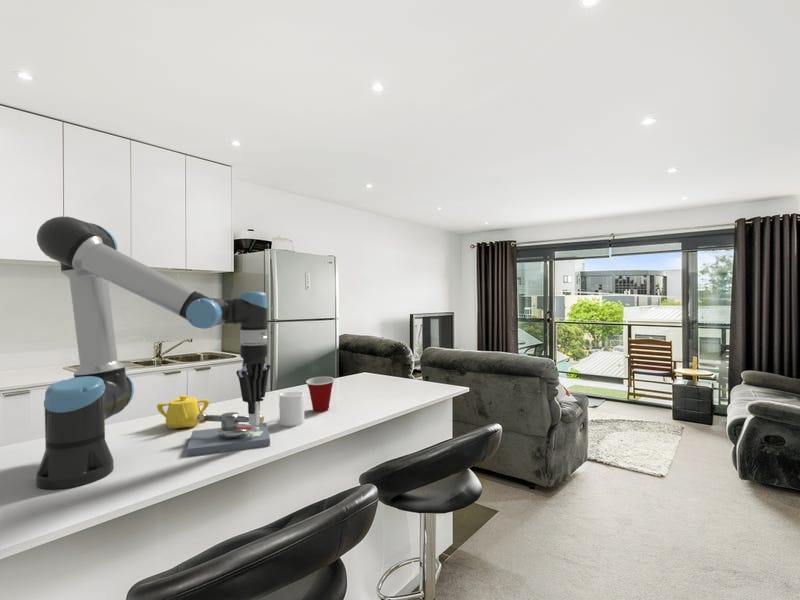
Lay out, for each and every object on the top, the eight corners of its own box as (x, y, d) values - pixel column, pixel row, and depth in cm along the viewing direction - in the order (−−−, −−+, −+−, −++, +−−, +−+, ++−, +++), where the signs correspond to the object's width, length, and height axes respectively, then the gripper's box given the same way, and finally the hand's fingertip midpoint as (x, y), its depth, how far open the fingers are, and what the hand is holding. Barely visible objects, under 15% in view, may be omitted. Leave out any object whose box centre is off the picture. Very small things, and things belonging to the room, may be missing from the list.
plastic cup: (300, 411, 161) (299, 380, 161) (318, 405, 170) (318, 375, 170) (322, 415, 156) (322, 383, 156) (340, 408, 165) (340, 377, 165)
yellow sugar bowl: (214, 423, 147) (214, 393, 147) (180, 434, 136) (180, 402, 136) (187, 418, 153) (187, 390, 153) (153, 428, 142) (153, 397, 142)
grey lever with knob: (188, 438, 125) (188, 416, 125) (205, 428, 134) (205, 408, 134) (257, 440, 123) (256, 418, 122) (269, 430, 132) (269, 410, 131)
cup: (288, 428, 141) (287, 398, 141) (269, 421, 149) (269, 392, 149) (309, 422, 147) (308, 393, 147) (290, 416, 155) (290, 388, 155)
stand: (186, 456, 117) (186, 444, 117) (192, 437, 133) (192, 427, 133) (270, 445, 125) (269, 434, 125) (266, 428, 141) (266, 419, 141)
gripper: (250, 346, 118) (250, 431, 118) (277, 342, 130) (277, 418, 130) (228, 345, 120) (228, 429, 120) (256, 341, 132) (257, 416, 132)
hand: (254, 423), depth 125 cm, fingers closed
